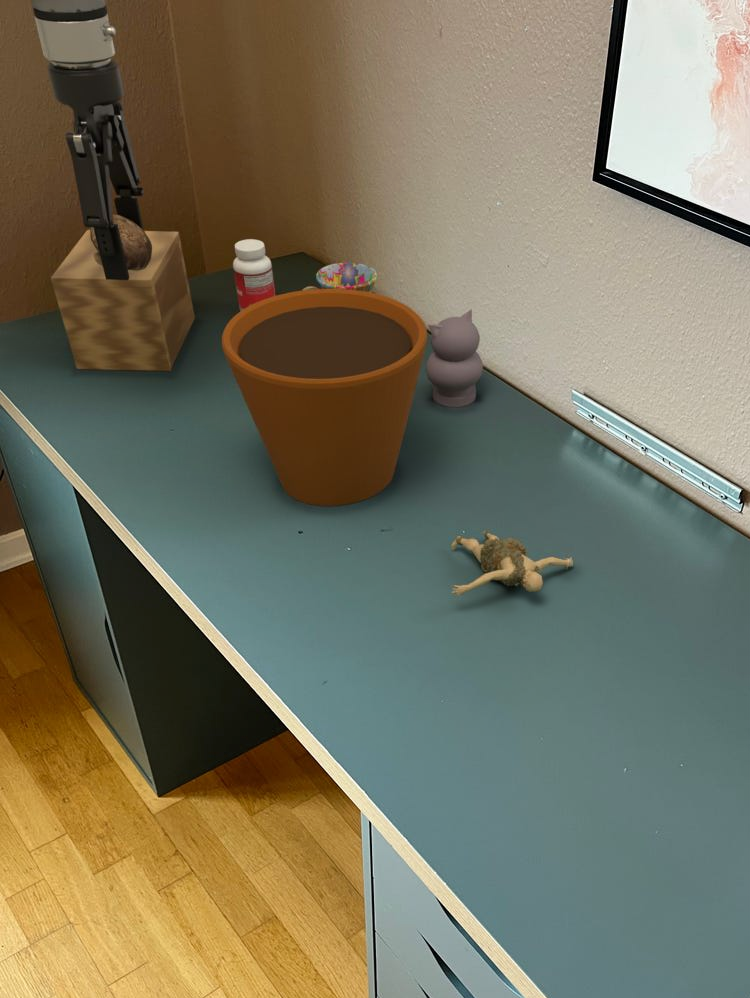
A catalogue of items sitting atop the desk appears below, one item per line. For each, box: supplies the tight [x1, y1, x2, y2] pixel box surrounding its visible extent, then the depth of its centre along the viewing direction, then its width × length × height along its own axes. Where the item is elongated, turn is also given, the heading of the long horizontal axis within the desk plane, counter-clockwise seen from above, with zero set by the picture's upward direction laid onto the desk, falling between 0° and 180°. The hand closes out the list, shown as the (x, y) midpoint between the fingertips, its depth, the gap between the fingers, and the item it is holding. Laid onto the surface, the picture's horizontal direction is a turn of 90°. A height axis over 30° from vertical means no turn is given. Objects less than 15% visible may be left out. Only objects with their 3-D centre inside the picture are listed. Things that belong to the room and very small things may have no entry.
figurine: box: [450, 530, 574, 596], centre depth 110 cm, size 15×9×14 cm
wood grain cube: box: [50, 229, 196, 372], centre depth 145 cm, size 14×18×14 cm
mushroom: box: [89, 213, 152, 271], centre depth 120 cm, size 8×8×6 cm
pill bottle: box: [232, 238, 276, 312], centre depth 155 cm, size 6×6×11 cm
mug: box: [301, 262, 378, 293], centre depth 149 cm, size 12×9×11 cm
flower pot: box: [221, 288, 428, 507], centre depth 118 cm, size 24×24×20 cm
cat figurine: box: [425, 309, 484, 408], centre depth 136 cm, size 8×8×12 cm
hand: (127, 264), depth 121 cm, fingers closed on mushroom, 8 cm apart
